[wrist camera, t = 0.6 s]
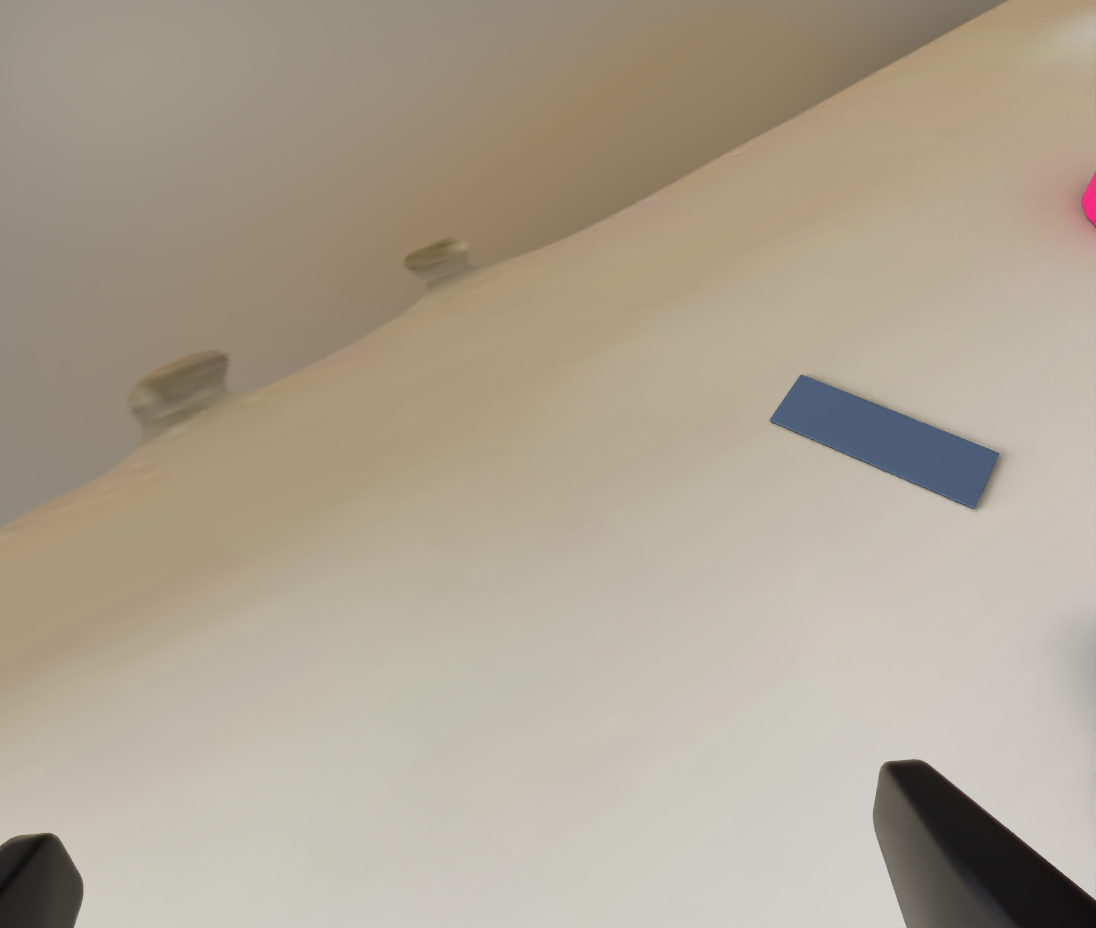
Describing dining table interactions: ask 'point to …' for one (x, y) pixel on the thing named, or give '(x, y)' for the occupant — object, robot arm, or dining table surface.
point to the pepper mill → (1090, 200)
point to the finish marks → (887, 440)
